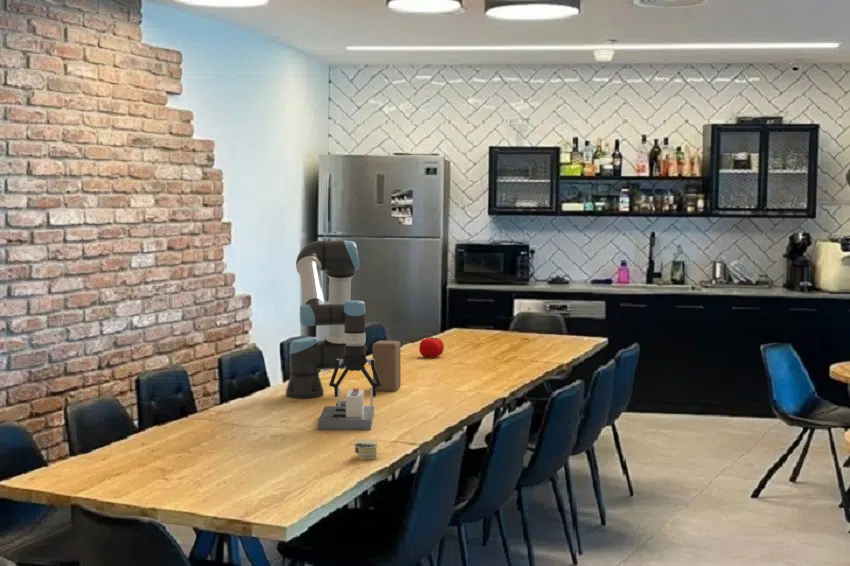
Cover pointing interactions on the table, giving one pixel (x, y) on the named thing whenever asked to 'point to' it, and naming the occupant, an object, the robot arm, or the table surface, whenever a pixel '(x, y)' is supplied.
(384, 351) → the wooden block
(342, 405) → the block
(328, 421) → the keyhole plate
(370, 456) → the building
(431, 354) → the tomato
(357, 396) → the light grey box
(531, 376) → the table surface
